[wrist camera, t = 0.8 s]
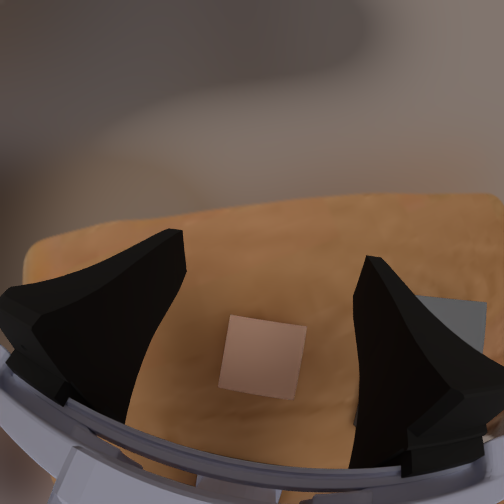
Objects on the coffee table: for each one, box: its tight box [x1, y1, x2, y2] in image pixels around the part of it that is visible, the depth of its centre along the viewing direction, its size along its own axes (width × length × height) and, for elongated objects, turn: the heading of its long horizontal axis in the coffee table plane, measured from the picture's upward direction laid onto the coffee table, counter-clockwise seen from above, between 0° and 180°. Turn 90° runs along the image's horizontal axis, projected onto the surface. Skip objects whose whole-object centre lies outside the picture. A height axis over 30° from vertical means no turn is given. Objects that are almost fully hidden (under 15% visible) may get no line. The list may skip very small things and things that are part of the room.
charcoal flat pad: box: [354, 295, 487, 427], centre depth 20 cm, size 12×12×3 cm
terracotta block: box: [218, 315, 307, 400], centre depth 20 cm, size 5×5×6 cm
